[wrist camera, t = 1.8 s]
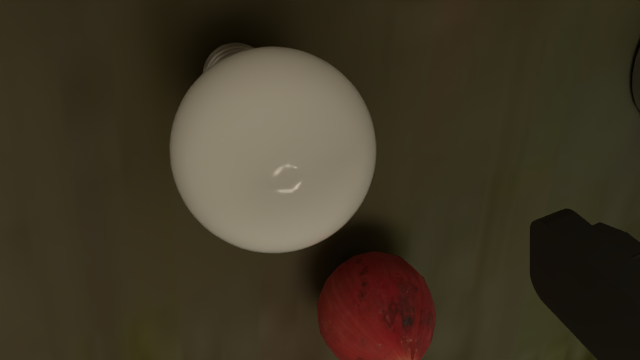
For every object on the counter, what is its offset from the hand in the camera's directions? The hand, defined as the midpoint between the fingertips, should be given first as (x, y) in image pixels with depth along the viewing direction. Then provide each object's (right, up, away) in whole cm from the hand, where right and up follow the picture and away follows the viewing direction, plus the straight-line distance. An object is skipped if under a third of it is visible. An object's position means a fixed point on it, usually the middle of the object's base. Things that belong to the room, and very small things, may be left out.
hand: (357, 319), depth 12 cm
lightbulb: (-5, +8, +13) cm, 16 cm away
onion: (+1, -2, +21) cm, 21 cm away
